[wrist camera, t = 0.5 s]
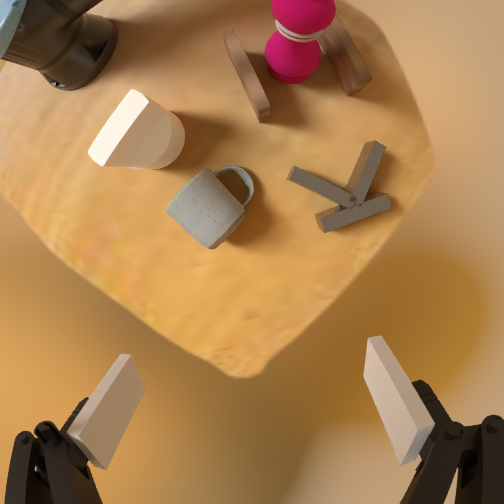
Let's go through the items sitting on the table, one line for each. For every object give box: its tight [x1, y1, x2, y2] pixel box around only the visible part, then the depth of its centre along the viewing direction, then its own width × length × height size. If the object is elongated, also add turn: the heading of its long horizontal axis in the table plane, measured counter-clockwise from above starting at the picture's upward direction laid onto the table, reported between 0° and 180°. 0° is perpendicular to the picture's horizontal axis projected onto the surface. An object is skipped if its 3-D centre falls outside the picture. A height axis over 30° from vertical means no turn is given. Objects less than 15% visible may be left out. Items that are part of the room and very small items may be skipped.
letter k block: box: [287, 140, 392, 233], centre depth 35 cm, size 9×14×4 cm, turn 112°
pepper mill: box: [265, 0, 336, 83], centre depth 23 cm, size 7×7×20 cm
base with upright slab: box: [88, 89, 185, 169], centre depth 31 cm, size 9×9×12 cm
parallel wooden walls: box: [222, 14, 372, 123], centre depth 30 cm, size 12×15×7 cm
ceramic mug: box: [166, 166, 254, 249], centre depth 35 cm, size 11×8×8 cm
